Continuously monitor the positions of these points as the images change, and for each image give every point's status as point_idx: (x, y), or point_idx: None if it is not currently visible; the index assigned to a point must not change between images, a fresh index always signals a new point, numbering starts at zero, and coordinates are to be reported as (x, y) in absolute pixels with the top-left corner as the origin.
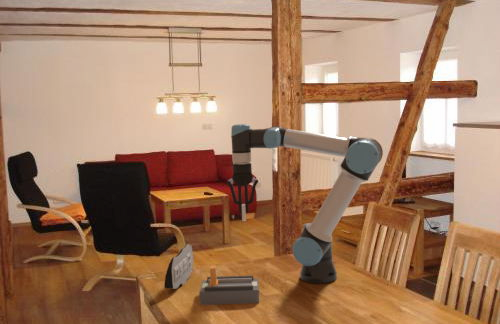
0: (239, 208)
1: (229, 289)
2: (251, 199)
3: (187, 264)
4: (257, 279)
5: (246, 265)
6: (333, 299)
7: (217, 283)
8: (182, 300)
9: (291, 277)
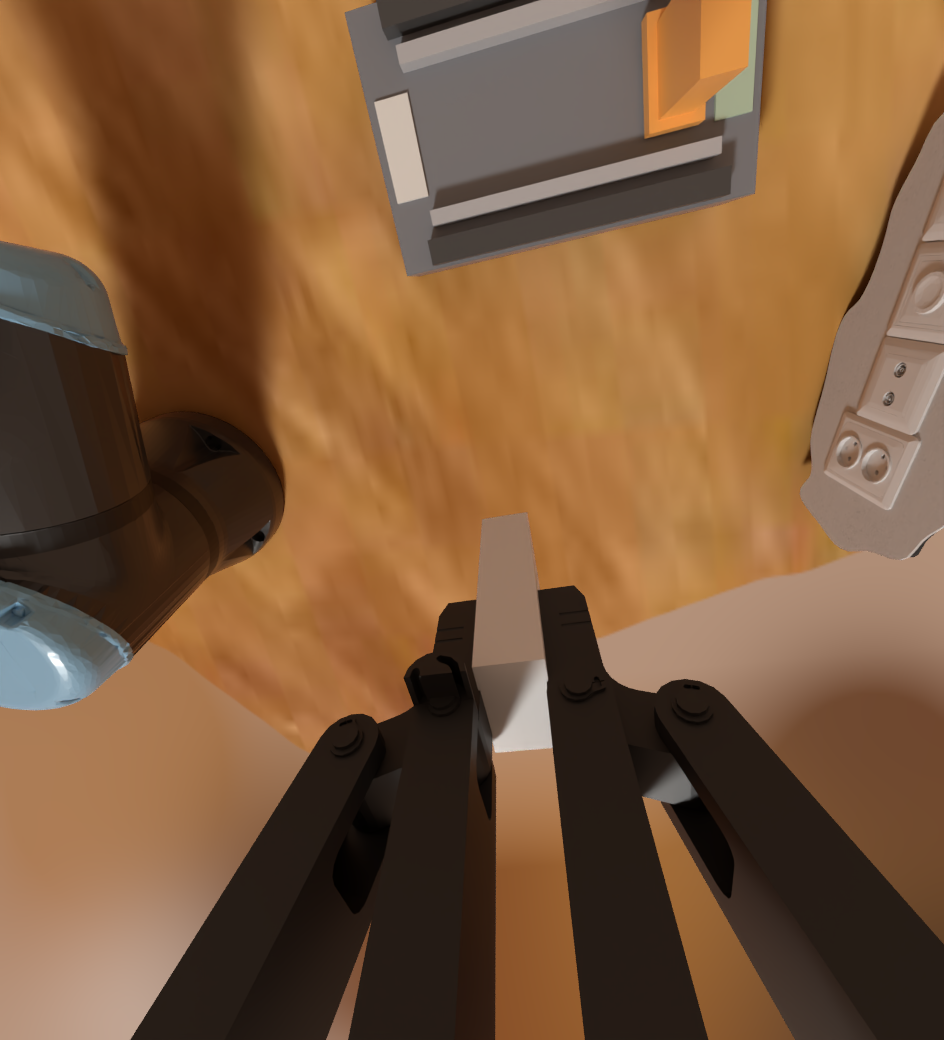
0: (584, 630)
1: None
2: (319, 792)
3: (871, 424)
4: (408, 257)
5: None
6: (17, 187)
7: (647, 39)
8: (850, 23)
9: (320, 483)
